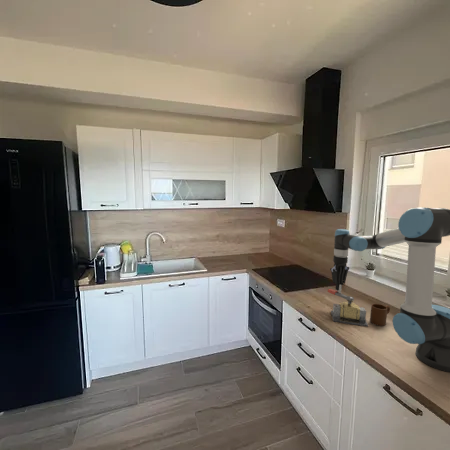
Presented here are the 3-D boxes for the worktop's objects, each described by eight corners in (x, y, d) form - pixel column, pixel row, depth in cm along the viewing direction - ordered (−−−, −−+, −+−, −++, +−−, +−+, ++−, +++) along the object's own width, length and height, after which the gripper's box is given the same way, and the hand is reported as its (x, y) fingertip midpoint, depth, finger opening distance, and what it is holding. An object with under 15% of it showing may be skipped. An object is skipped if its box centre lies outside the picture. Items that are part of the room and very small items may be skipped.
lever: (355, 301, 142) (355, 298, 141) (350, 302, 140) (351, 299, 140) (331, 291, 155) (331, 288, 155) (327, 292, 154) (327, 289, 153)
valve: (367, 326, 136) (369, 307, 134) (333, 321, 140) (335, 303, 139) (362, 316, 147) (364, 299, 146) (330, 311, 152) (332, 295, 150)
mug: (381, 317, 147) (383, 301, 146) (394, 323, 140) (396, 307, 139) (366, 320, 142) (368, 304, 141) (379, 327, 135) (380, 310, 134)
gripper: (343, 253, 154) (341, 291, 157) (327, 255, 149) (325, 294, 152) (354, 256, 147) (351, 295, 150) (337, 258, 142) (335, 299, 145)
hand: (338, 294), depth 151 cm, fingers closed
